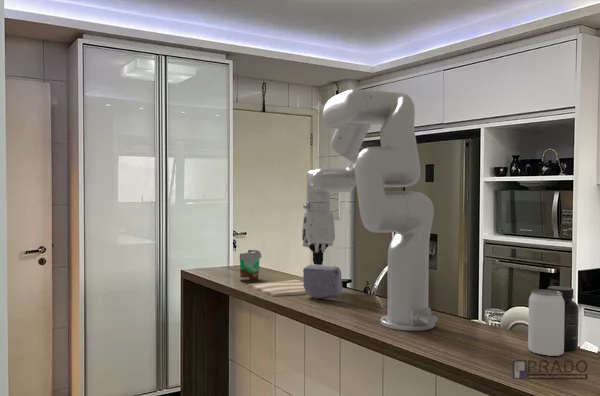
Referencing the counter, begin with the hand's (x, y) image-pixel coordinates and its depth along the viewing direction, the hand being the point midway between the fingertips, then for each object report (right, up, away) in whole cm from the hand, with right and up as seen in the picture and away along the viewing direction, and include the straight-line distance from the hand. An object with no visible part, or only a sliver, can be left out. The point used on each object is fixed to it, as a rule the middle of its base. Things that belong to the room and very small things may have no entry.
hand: (317, 264), depth 172 cm
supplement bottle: (+48, -9, -62) cm, 79 cm away
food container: (-23, -8, +15) cm, 28 cm away
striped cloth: (-10, -8, -3) cm, 13 cm away
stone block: (+1, -8, -18) cm, 20 cm away
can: (+43, -9, -66) cm, 80 cm away
